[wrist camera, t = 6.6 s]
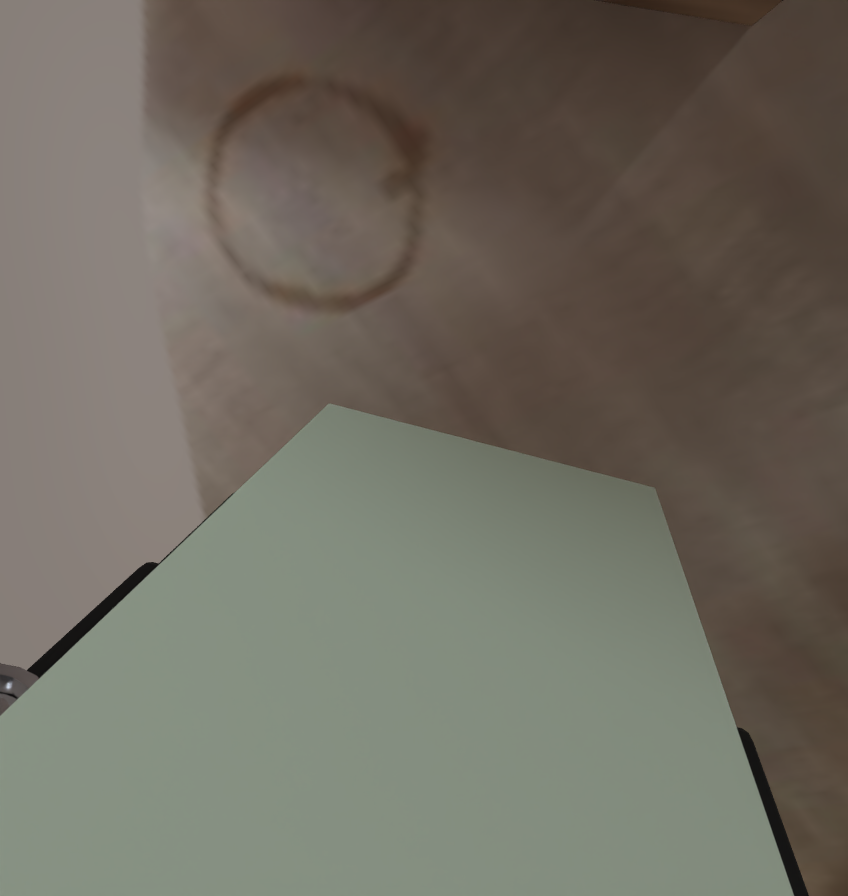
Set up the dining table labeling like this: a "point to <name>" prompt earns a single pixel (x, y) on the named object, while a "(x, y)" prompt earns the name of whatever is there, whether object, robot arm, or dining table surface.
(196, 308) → the dining table surface
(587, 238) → the dining table surface
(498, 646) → the sage block
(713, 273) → the dining table surface
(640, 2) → the walnut block
